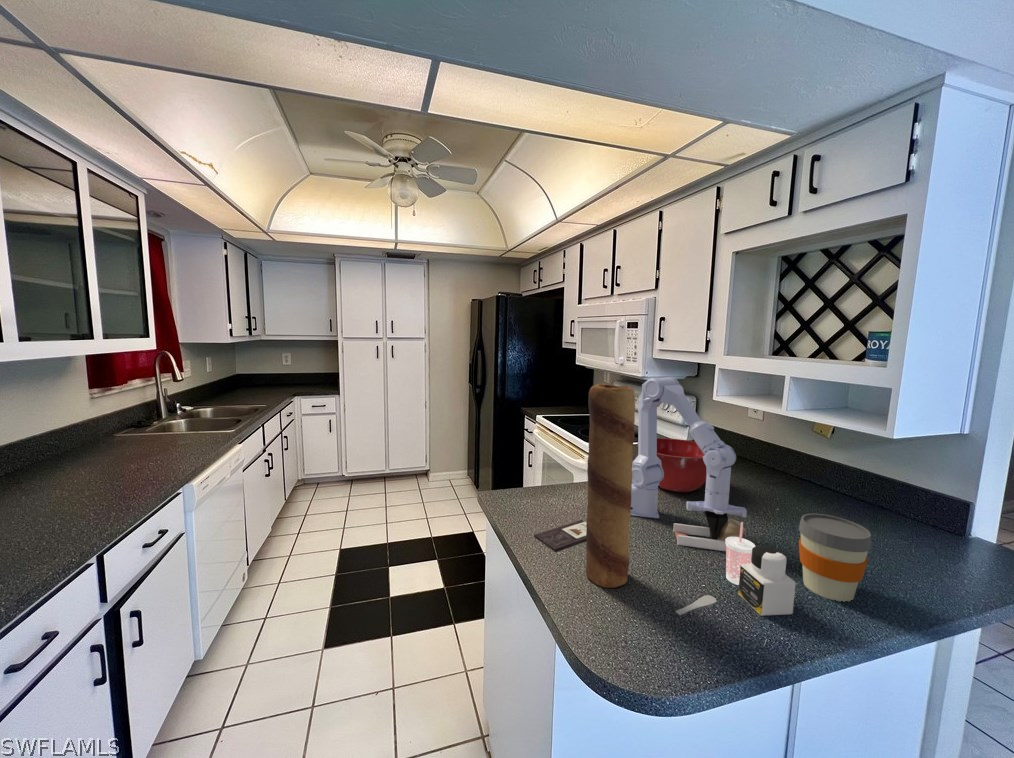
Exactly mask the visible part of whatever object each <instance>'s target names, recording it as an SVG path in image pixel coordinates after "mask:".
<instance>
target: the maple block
mask: <svg viewBox="0 0 1014 758" xmlns="http://www.w3.org/2000/svg"><path fill="white" fill-rule="evenodd" d="M740 526H741V522H739V521H738V520H736V519H733V518H730V517H728V521H727V522H726V523H725V525H724V526H723V528H722V529H721V531H720V533H719V536H718V539H717V540H720V541H725V539H726V538H727V537H740ZM745 531H746V528H745V527H744V526H743V531H742V536H744V532H745Z"/></svg>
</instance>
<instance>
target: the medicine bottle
mask: <svg viewBox="0 0 1014 758" xmlns="http://www.w3.org/2000/svg"><path fill="white" fill-rule="evenodd" d="M786 568H787V556H786V555H785V553H783V551H780V550H779V549H777V548H775V547H772V546H767V545H755V547H754V548H753V549H752V557H751V564H741V567H740V579H739V585H738V591H737V592H738V595H739V596H740V597H741V598H742V599H743V600H744V601H745V602H746V603H747V604H748V605H749V606H750V607H751V608H752V609H754V611H756V613H758V614H759V616H760V617H761V616H764V617H765V616H784V615H785V616H786V615H793V613H794V605H795V603H794V602H795V593H796V591H795V590H796V581H795V580H794V579H792V578H791V577H790V576H788V575H787V574H786V571H787V570H786Z"/></svg>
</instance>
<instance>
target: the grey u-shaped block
mask: <svg viewBox="0 0 1014 758" xmlns="http://www.w3.org/2000/svg"><path fill="white" fill-rule="evenodd" d="M672 528H673V530H672V532H673V533H674V535H675V538H676V541H677V542H676V544H677V545H678V546H685V547H693V548H699V549H705V550H706V549H708V550H713V551H714V550H715V551H722V552H726V544H725V541H720V540H718V539H717V540H714V539H711V537H710V530H709V526H708V527H707V526H699V525H692V524H685V523H684V524H683V523H676V522H675V523H673V527H672ZM688 535H693V536H688ZM696 536H697V537H696ZM698 536H699V537H698ZM704 537H705V538H704Z"/></svg>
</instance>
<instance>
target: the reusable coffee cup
mask: <svg viewBox="0 0 1014 758" xmlns="http://www.w3.org/2000/svg"><path fill="white" fill-rule="evenodd" d="M798 531H799V533H800V538H799V540H798V548H799V561H800V563H801V564H802V579H803V580H802V582H803V584H804V586H805V587H806V588H807V589H808V590H810V592H812V593H814V594H816V595H818V596H820V597H822V598H825V599H828V600H831V601H835V600H836V601H835V602H841V601H843V602H844V603H846V602H845V601H848V602H851V600H852V601H853V600H854V598H855V595H856V593H857V589H858V585H859V582H861V581H862V580H863V578H864V575H865V572H866V568H867V565H868V562H869V558H868V557H867V556H868V553H869V551H871V549H872V533H871V532H870V530H868V529H867V528H866V527H864V526H862V525H861V524H858V523H856V522H854V521H851V520H850V519H849V520H848V519H846V518H841V517H837V516H835V515H834V516H833V515H829V514H823V513H806V514H803V515H802V516H801V517H800V521H799V525H798ZM843 602H842V603H843Z"/></svg>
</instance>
